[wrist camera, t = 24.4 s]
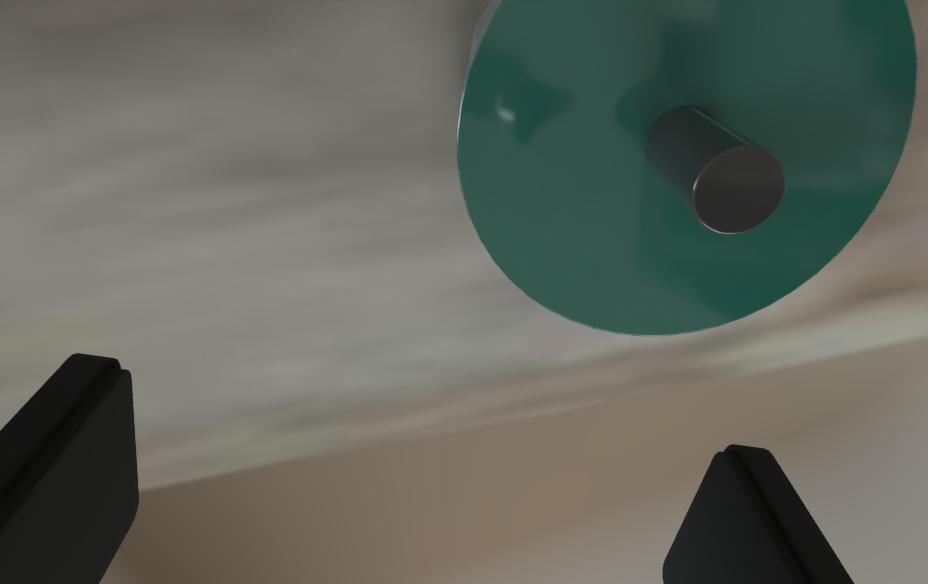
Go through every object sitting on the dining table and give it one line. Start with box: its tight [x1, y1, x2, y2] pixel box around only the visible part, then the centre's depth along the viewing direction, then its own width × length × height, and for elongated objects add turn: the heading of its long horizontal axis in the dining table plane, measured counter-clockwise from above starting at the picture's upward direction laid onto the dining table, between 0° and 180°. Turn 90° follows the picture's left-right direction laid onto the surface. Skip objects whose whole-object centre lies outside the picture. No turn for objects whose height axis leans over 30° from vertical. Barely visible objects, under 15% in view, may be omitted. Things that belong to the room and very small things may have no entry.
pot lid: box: [457, 0, 917, 336], centre depth 21 cm, size 16×16×6 cm
